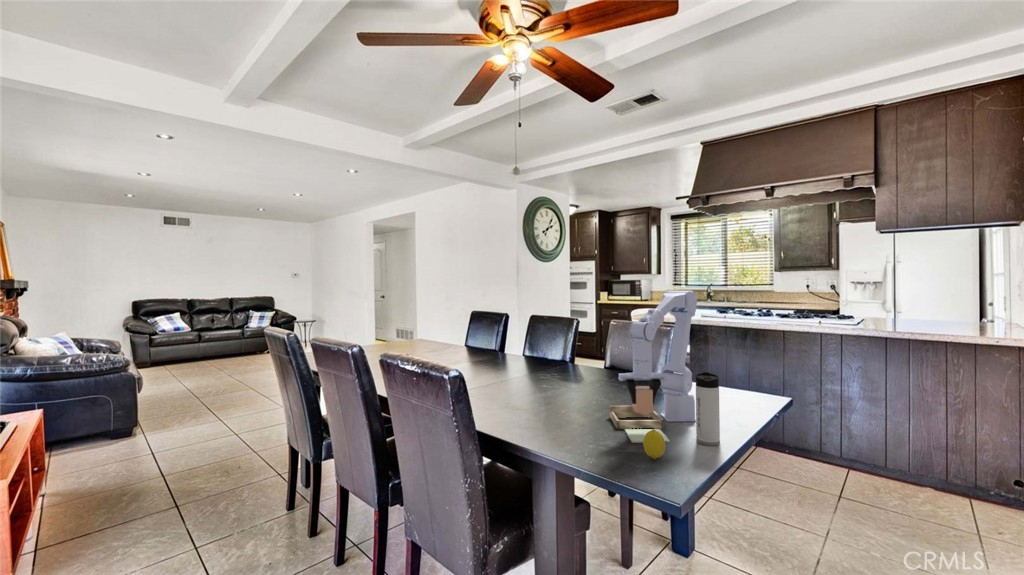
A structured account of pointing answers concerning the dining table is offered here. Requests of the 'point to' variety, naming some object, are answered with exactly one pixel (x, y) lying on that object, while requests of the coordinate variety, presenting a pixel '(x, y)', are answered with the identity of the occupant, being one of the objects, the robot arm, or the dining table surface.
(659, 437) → the lemon
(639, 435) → the mat
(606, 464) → the dining table surface
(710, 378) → the travel mug
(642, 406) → the tan upright block
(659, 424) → the frame
